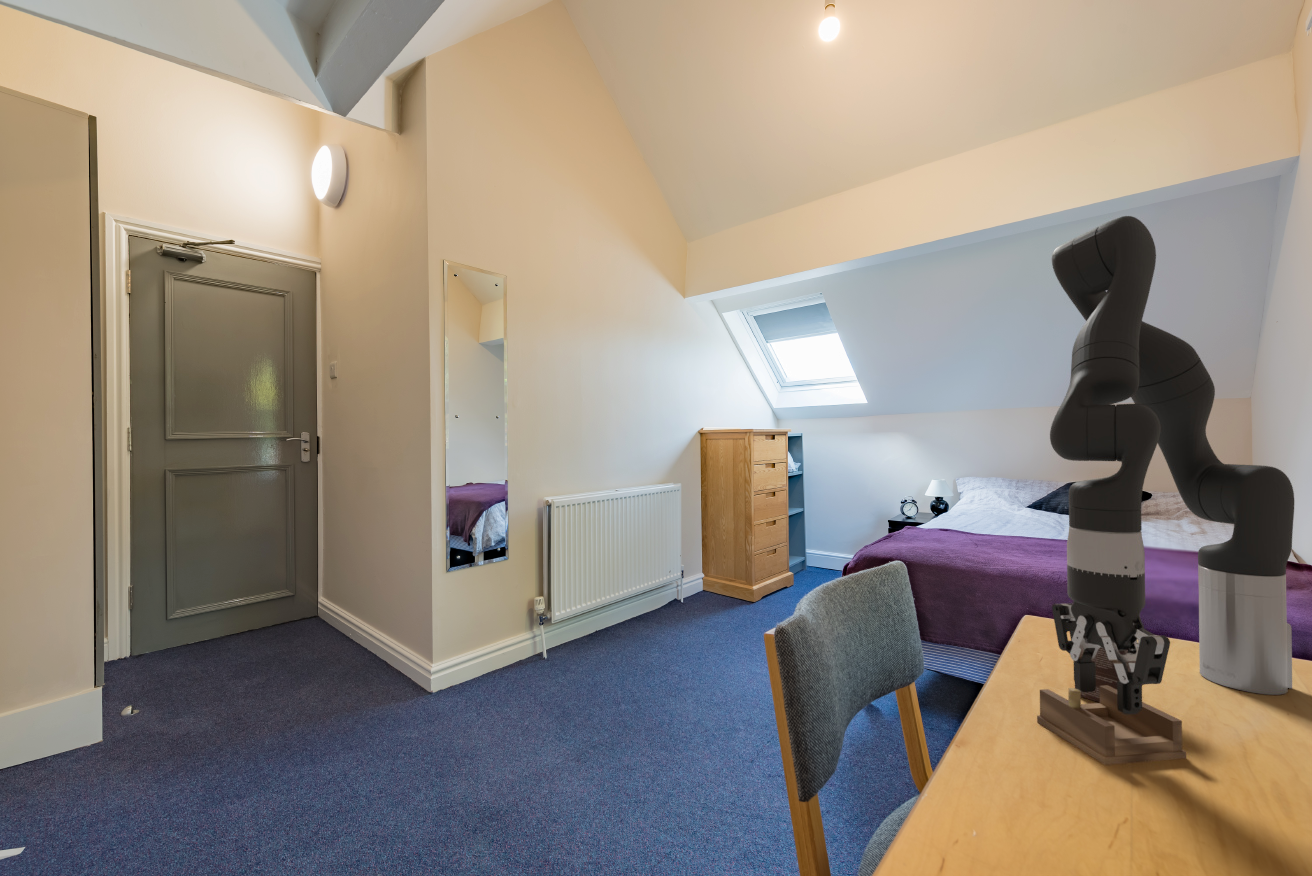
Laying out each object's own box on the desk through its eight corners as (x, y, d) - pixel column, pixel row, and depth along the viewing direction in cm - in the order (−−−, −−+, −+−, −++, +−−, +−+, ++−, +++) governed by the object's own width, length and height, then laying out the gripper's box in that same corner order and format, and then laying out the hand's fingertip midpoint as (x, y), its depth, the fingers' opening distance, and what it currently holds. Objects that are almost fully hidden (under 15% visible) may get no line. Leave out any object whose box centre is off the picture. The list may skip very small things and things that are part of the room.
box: (1136, 703, 78) (1135, 618, 78) (1124, 712, 76) (1122, 624, 76) (1086, 687, 83) (1085, 607, 83) (1072, 695, 81) (1071, 612, 81)
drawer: (1108, 717, 74) (1107, 669, 74) (1186, 760, 64) (1185, 704, 64) (1037, 723, 73) (1036, 673, 73) (1105, 766, 63) (1104, 709, 63)
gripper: (1031, 554, 75) (1033, 678, 75) (1133, 580, 61) (1135, 734, 61) (1081, 552, 76) (1083, 675, 76) (1193, 578, 62) (1195, 729, 62)
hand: (1106, 700), depth 69 cm, fingers open, 5 cm apart
